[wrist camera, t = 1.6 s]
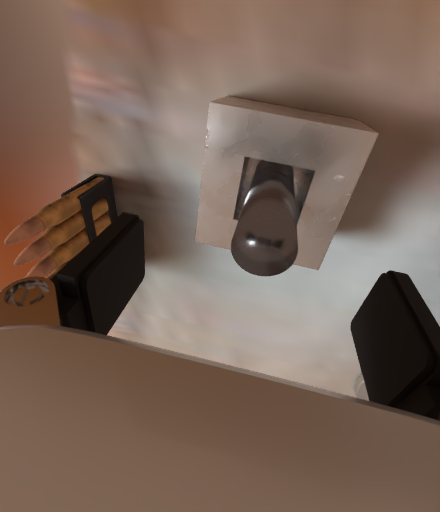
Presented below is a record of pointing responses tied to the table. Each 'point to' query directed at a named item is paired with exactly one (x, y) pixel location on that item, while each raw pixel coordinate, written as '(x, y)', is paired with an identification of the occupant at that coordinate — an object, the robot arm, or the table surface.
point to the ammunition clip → (66, 225)
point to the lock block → (284, 152)
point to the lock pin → (267, 222)
